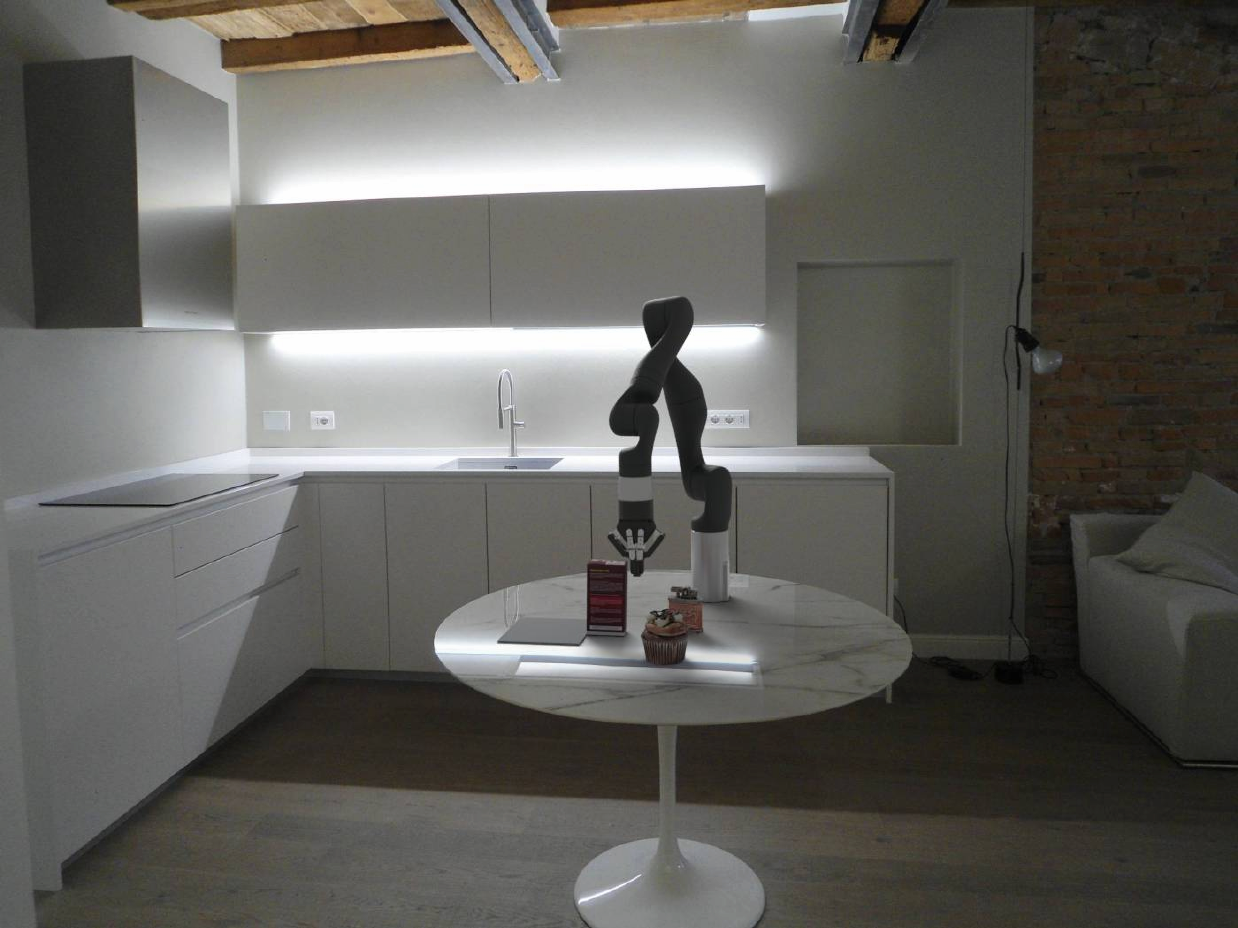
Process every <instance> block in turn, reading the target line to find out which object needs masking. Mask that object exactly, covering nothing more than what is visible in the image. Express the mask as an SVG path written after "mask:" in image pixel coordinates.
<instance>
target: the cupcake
mask: <svg viewBox="0 0 1238 928" xmlns="http://www.w3.org/2000/svg"><path fill="white" fill-rule="evenodd" d="M659 613H660V614H659ZM645 619H646V623H645V625H644V630H643V631H642V632H641V634H640V639H641V642H642V646H643V652H644V657H645V660H646V662H649V663H651V664H655V665H659V666H670V665H671V666H673V665H676V664H680V663H683V662H684V661H685V658H686V652H687V647H688V643H689V636H690V635H689V634H688V632H687V630H686V625H685V624H684V623H683V621H682V615H681V614H678V613H672V612H671V613H670V610H669V608H665V609H662V610H651V611H650V612H649V614H646V616H645Z"/></svg>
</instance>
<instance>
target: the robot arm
mask: <svg viewBox="0 0 1238 928" xmlns="http://www.w3.org/2000/svg"><path fill="white" fill-rule="evenodd" d="M641 311H642V312H641V318H642V325H643V330H644V332H645V335H646V338H647V339H646V340H647V342H648V344H649V347H650V349H649V350H648V351H647V352H646V354H645V355H643V356H642V358H641V359H640V360H639V362H638V363H637V364H636V366H635V368H634V371H633V374H632V375H631V376H632V377H631V379H630V381H629V385H628V386H627V387H626V389H625V390H624V391H623V392H622V394H621V395H620V396H619V398H618V399H617V400H616V402H615V403H614V404H613V406H612V408H611V410H610V411H609V417H608V424H609V425H608V426H609V428H610V431H611V432H612V433H613V434H614V435H616V436H619V437H639V438H638V442H637V444H636V445H634V446H630V447H625V448H623V449H620V450H619V453H618V483H617V484H618V486H617V498H618V503H617V505H618V507H617V508H618V522H617V524H616V528H615V529H614V530H613V531H611V532H609V533H608V534H607V536H606V537H607V540H609V542H610V543H611V544H612V545H613V547H614V548H615V549H616V550H617V552H618V553H619V554H620V555H621V557H623V558H627V559H628V560H629V564H630V565H629V566H630V568H629V569H630V571H629V572H630V575H633V578H641V577H642V575H643V574H644V572H645V559H647V558H650V557H651V556H652V555H653V554H654V552H655V551H656V550H657V548H658V547H659V546H660V545H661V544H662V542H663V541H664V540H665V538H666V536H667V534H666V533H665V532H661V531H660V530H659V529H658V528H657V524H656V523H655V519H654V518H655V517H654V482H653V476H652V475H653V471H652V468H653V467H652V465H653V464H652V463H653V461H652V456H653V452H654V446H655V445H654V444H655V440H656V437H657V433H658V431H659V430H658V429H659V425H660V414H659V411H658V409H657V408H656V406H655V404H656V403H657V402H658V401H659V398H660V396H661V394H662V391H663V396H664V400H665V405H666V409H667V413H668V416H669V419H670V423H671V426H672V429H673V430H672V431H673V435H674V439H675V443H676V449H677V454H678V460H679V467H680V473H681V480H682V485H683V486H682V487H683V488H684V491H685V493H686V495H687V497H688V498H689V499H691V500H693V501H697V502H703V503H704V510H703V512H702V513H701V514H698V515H696V516H693V517H692V518H691V520H690V561H691V563H690V565H691V566H690V567H691V569H690V570H691V588H695V589H698V594H697V597H700V598H703V603H707V602H708V603H716V602H728V601H729V598H730V594H731V593H730V556H729V553H730V552H729V549H730V548H729V525H730V524H729V523H730V520H731V518H732V508H733V507H732V503H733V478H732V475H731V472H730V470H729V469H728V468H727V467H724V466H723V465H717V464H715V465H714V464H707V463H706V461H705V458H704V454H703V451H702V442H701V441H702V437H703V433H704V430H705V427H706V423H707V419H708V405H707V401H706V398H705V394H704V390H703V387H702V384H701V383H700V381H699V379H697V377H695V375H694V374H693V373H692V372H691V371H690V370H689V369H688V368H687V366H685V365H684V363H683V362H682V361H680V359H679V358H678V357H677V356H678V354H679V352H680V351H681V349H682V348H683V345H684V344H685V342H686V341H687V339H688V337H689V335H690V334H691V332H692V329H693V326H694V320H695V312H694V308H693V305H692V303H691V301H690V300H689V299H688V298H687V297H686V296H684V295H674V296H669V297H663V298H657V299H652V300H651V299H650V300H647V301H646V302H645V303H644V304H643V306H642V310H641ZM652 535H653V537H652ZM651 537H652V538H653V540H654V542H653V543H652V544H651V546H649V548H648V549H647V550H646V543H647V542H648V541H649V539H650V538H651ZM620 538H622V539H623V540H624V541H625V542H626V543H627V547H626V546H625V545H624V543H623V542H622V540H621V539H620Z"/></svg>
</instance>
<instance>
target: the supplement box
mask: <svg viewBox="0 0 1238 928" xmlns="http://www.w3.org/2000/svg"><path fill="white" fill-rule="evenodd" d="M628 562H629V561H628V560H619V559H618V560H617V559H595V558H594V559H593V558H590V560H589V561H588V562H587V563H586V619H587V635H593V636H594V635H595V636H596V635H597V636H614V637H615V636H616V637H625V635H626V632H627V629H628V628H627V627H628V623H627V622H628V617H627V615H628Z"/></svg>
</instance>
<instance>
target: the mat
mask: <svg viewBox="0 0 1238 928" xmlns="http://www.w3.org/2000/svg"><path fill="white" fill-rule="evenodd" d="M587 635H588V634H587V618H563V617H562V618H559V617H557V618H556V617H533V616H532V617H531V616H530V617H527V616H521V617H519V618H518V620H516V621H515V622H514V624H512V625H511V626H510V627H509V628H508V629H507V630H506V631H505V632H504V633H503V635H501V636H500V637H499V638H498V639H497V640H496V643H497V642H501V644H502V643H503V642H504V643H503V644H527V645H528V644H529V645H553V646H554V645H555V646H580V645H581V644H582V643H583V641H584V640H585V639H586V638H587Z"/></svg>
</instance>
